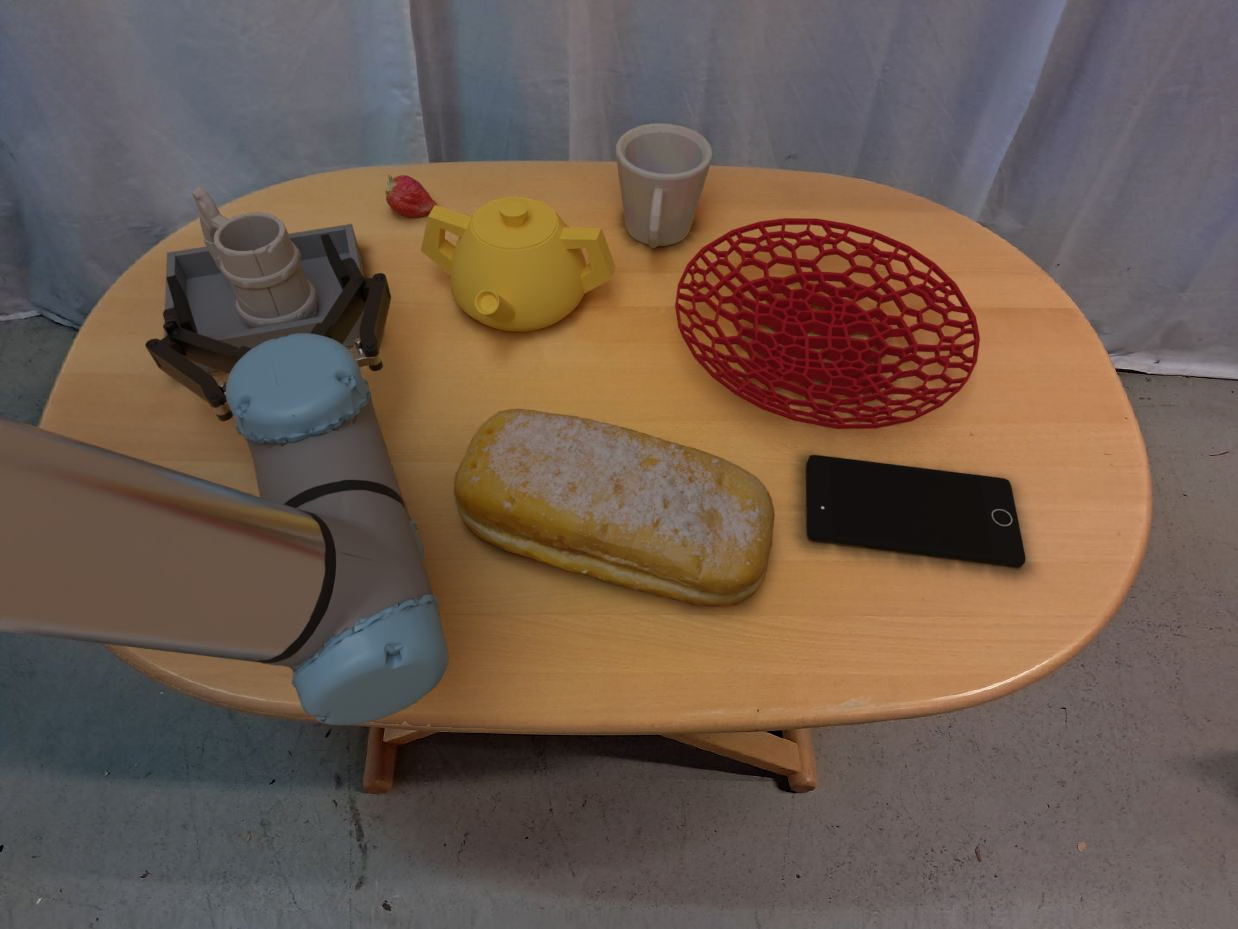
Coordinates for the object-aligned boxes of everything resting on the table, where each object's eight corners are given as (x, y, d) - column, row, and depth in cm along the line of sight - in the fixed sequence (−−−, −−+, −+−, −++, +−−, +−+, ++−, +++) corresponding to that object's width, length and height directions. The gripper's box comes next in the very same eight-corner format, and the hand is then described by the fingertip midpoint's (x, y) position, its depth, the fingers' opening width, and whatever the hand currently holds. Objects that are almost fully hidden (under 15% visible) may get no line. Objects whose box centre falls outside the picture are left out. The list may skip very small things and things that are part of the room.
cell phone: (1022, 569, 67) (1027, 564, 66) (806, 541, 68) (808, 535, 67) (1006, 484, 72) (1010, 478, 71) (805, 459, 73) (808, 453, 72)
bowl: (991, 469, 73) (1015, 434, 69) (670, 452, 73) (675, 416, 69) (929, 262, 91) (945, 224, 87) (671, 248, 91) (675, 210, 87)
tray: (180, 378, 77) (163, 349, 74) (181, 281, 85) (166, 252, 82) (376, 341, 81) (368, 313, 78) (359, 252, 89) (351, 223, 86)
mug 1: (279, 350, 78) (236, 250, 69) (198, 302, 82) (147, 201, 73) (336, 307, 82) (303, 207, 73) (257, 263, 86) (216, 163, 77)
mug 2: (704, 204, 96) (715, 126, 88) (697, 285, 87) (708, 207, 79) (618, 195, 97) (621, 117, 89) (602, 276, 88) (603, 196, 80)
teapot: (396, 355, 80) (372, 266, 71) (449, 241, 91) (434, 152, 82) (594, 382, 78) (595, 295, 69) (623, 263, 89) (627, 175, 80)
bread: (491, 434, 74) (482, 374, 68) (776, 495, 71) (795, 439, 64) (437, 555, 66) (421, 500, 60) (755, 631, 63) (773, 581, 56)
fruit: (432, 226, 92) (425, 188, 88) (382, 220, 92) (372, 182, 89) (442, 204, 95) (436, 166, 91) (393, 199, 95) (384, 161, 91)
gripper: (168, 512, 62) (128, 338, 73) (472, 404, 69) (393, 261, 80) (123, 452, 56) (87, 272, 67) (461, 341, 63) (378, 196, 74)
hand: (254, 266), depth 74 cm, fingers open, 13 cm apart
